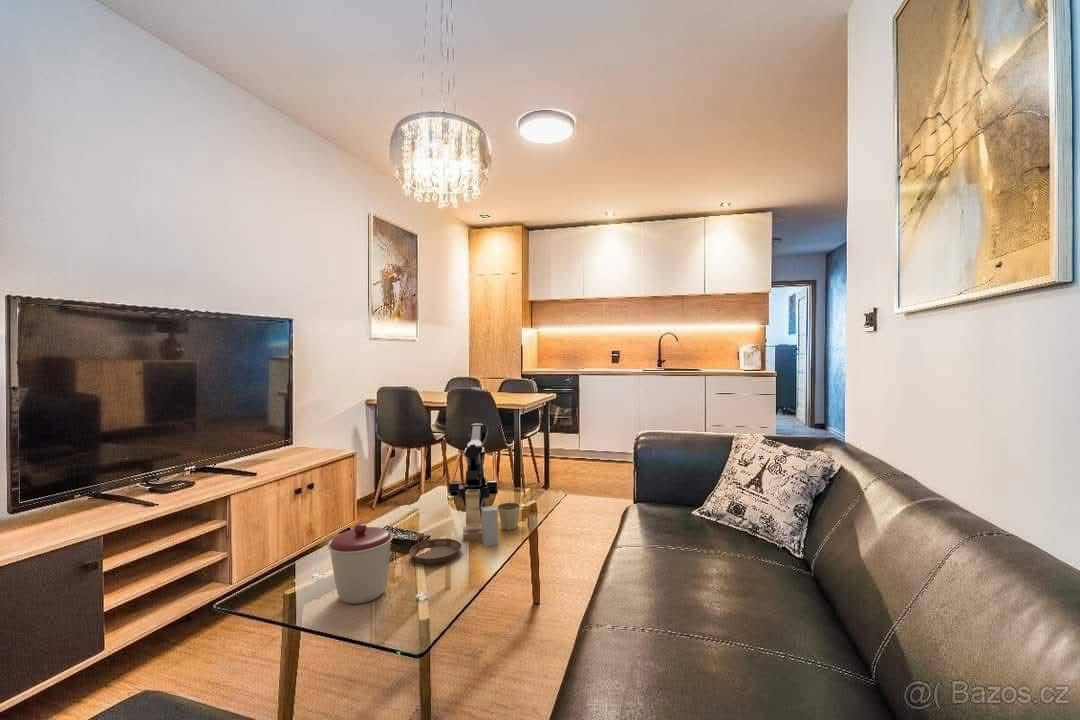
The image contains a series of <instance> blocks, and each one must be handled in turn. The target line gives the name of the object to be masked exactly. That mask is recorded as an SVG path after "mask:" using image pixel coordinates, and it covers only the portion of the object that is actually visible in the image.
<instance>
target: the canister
mask: <svg viewBox="0 0 1080 720" xmlns="http://www.w3.org/2000/svg"><path fill="white" fill-rule="evenodd" d="M393 539H394V534H393V533H392V532H391V530H390V531H389V530H387V529H385V528H383V527H378V526H377V527H376V526H367V525H366V524H365V523H357V524H356V525H355V526H354V527H353V529H349V530H346V531H343V532H341V533H339V534H337V535H336V536H334V538H332V539H330V541H328V543H327V549H328V550H329V551H330V559H331V564H332V571H333V577H334V583H335V587H336V588H335V589H336V592H337V595H338V597H339V598H340V600H341V601H343V602H344V603H346V604H347V603H348V604H351V605H352V604H353V605H354V604H357V605H359V604H364V603H368V602H371V601H373V600H375V599H377V598H379V597H380V596H381V595H382V594H384V592H385V590H386V588H387V585H388V579H389V571H390V558H391V557H390V556H391V555H390V554H391V543H392V542H391V541H392V540H393Z"/></svg>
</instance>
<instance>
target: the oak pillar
mask: <svg viewBox="0 0 1080 720" xmlns="http://www.w3.org/2000/svg"><path fill="white" fill-rule="evenodd" d="M465 495H466V509H465V527H480V526H481V513H480V509H479V503H480V489H467V491H465Z"/></svg>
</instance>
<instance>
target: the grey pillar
mask: <svg viewBox="0 0 1080 720" xmlns="http://www.w3.org/2000/svg"><path fill="white" fill-rule="evenodd" d="M480 518H481V526H482V540H481V543H482V544H483V546H484V548H487V547H493V546H499V525H498V522H499V521H498V518H499V517H498V509H497V506H495V505H489V506H486V507H481V513H480Z"/></svg>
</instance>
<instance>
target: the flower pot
mask: <svg viewBox="0 0 1080 720" xmlns="http://www.w3.org/2000/svg"><path fill="white" fill-rule="evenodd" d="M520 508H521V504H520V503H517V502H503V503H499V504H497V506H496V509H497V512H498V513H499V514H498V515H499V517H500V518H499V519H500V524H501V529H502V530H504V529H505V530H508V531H511V529H513V530H515V529H514V528H516V529H517V528H518V522H519V513H520V512H519V511H520ZM505 530H504V531H505Z"/></svg>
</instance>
